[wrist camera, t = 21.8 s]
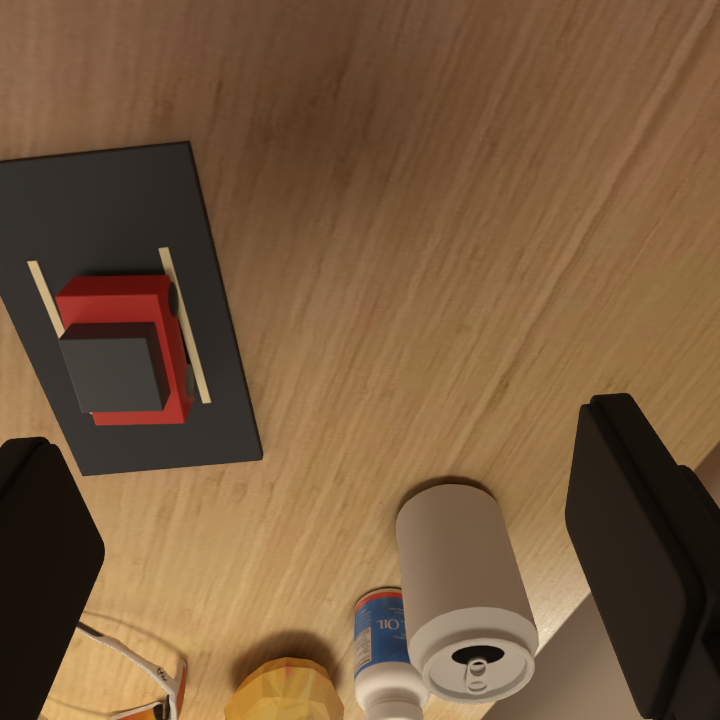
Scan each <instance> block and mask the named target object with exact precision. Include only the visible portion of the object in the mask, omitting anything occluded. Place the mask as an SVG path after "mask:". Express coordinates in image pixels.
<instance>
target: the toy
mask: <svg viewBox="0 0 720 720" xmlns="http://www.w3.org/2000/svg"><path fill="white" fill-rule="evenodd" d="M343 716H344V706H343V704H342V702H341V700H340V698H339V697H338V695H337V693H336V691H335V689H334V687H333V685H332V683H331V680H330V678H329V675H328V673H327V671H326V668H324V667H322V666H320V665H319V664H317V663H315V662H313V661H311V660H307V659H298V658H290V657H283V658H279V659H275V660H272V661H268V662H266V663H264V664H263V665H262V666H261V667H259V668H258V669H257V670H255V671H254V672H253V673H252V674H250V675H249V676H248V677H247V678H246V679H245V680H244V681H243V683H242V684H241V685H240V686H239V688H238V689H237V690H236V691H235V693H234V694H233V695H232V697H231V698H230V700H229V702H228V704H227V706H226V708H225V720H343Z"/></svg>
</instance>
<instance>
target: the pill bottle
mask: <svg viewBox="0 0 720 720" xmlns="http://www.w3.org/2000/svg"><path fill="white" fill-rule="evenodd" d="M354 660H355V676H354V681H355V696H356V700H357V702H358V704H359V705H360V706H361V707H362V708H363V709H364V710H365V715H364V720H423V712H422V708H423V707H424V706H425V704H426V703H427V701H428V699H429V696H430V691H429V690H428V689H427V688H426V687H425V686H424V683H423V679H422V675H421V673H419V671H418V670H417V669H416V668H415V667H414V666H413V665H412V664H411V662H410V658H409V654H408V648H407V638H406V628H405V618H404V608H403V597H402V590H399V589H393V588H386V589H380V590H376V591H373V592H370V593H368V594H367V595H365V596H364V597H362V598H361V599H360V600H359V602H358V603H357V605H356V608H355V614H354Z"/></svg>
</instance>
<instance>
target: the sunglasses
mask: <svg viewBox="0 0 720 720" xmlns="http://www.w3.org/2000/svg"><path fill="white" fill-rule="evenodd" d="M76 630H78V631H80V632H82V633H83V634H85V635H87V636H88V637H90V638H92V639H94V640H95V641H97V642H99V643H102V644H104V645H107V646H109V647H111V648H113V649H115V650H117V651H119V652H120V653H122V654H123V655H125V656H126V657H128V658H129V659H131V660H132V661H133V662H135V663H136V664H137V665H139V666H140V667H141V668H142V669H144V670H145V671H146V672H147V673H148V674H149V675H150V676H151V677H152V678H153V679H154V680H155V681H156V682H157V683H158V684H159V685H160V686H161V687H162V688H163V689H164V690H165V691H166V692H167V693H168V694H169V695H167V699H166V704H165V706H164V704H163V703H161V702H155V703H152V704H150V705H147V706H143V707H140V708H137V709H133V710H130V711H127V712H123V713H120V714H117V715H113V716H112V717H111V718H110V720H178V719H179V716H180V713H181V709H182V705H183V699H184V693H185V683H186V675H187V669H186V663H185V661H184V659H182V658H178V659H177V666H176V672H175V676H174V679H172V678H171V677H170V676H169V675H168V674H167V673H166V671H165V670H164V669H163V668H162V667H160V666H158V665H155V664H153V663H151V662H149V661H147V660H145V659H144V658H142V657H141V656H139V655H138V654H136V653H135V652H133V651H132V650H130V649H129V648H128V647H127V646H125V645H124V644H123V643H122V642H120V641H119V640H118V639H115V638H113V637H110V636H107V635H105V634H103V633H101V632H99V631H97V630H95V629H94V628H92V627H90V626H88V625H86V624H84V623H82V622H80V621H79V622H78V624H77V626H76ZM38 720H48V719H47V718H45V717H44V716H43V715H42V714H41V713H40V715H39V717H38Z"/></svg>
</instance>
